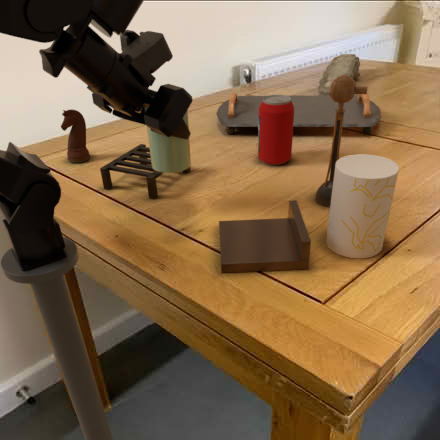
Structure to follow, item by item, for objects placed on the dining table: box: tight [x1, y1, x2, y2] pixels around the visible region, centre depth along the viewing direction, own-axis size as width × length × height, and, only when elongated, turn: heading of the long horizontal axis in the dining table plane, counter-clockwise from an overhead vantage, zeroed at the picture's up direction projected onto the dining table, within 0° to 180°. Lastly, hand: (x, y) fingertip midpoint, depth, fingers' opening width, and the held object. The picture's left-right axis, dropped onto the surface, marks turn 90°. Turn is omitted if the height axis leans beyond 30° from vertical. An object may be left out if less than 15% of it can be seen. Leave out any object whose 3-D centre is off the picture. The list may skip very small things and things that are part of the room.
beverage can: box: [257, 94, 294, 166], centre depth 91 cm, size 7×7×12 cm
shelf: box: [218, 199, 312, 274], centre depth 68 cm, size 12×12×4 cm
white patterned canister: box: [325, 153, 400, 259], centre depth 66 cm, size 8×8×12 cm
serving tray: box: [216, 92, 382, 136], centre depth 112 cm, size 39×23×6 cm, turn 84°
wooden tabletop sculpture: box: [314, 75, 368, 208], centre depth 74 cm, size 6×5×20 cm
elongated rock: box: [317, 53, 361, 95], centre depth 135 cm, size 35×5×10 cm
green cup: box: [144, 107, 192, 174], centre depth 72 cm, size 6×6×10 cm
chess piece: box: [60, 108, 91, 164], centre depth 96 cm, size 5×5×10 cm
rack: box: [99, 143, 191, 200], centre depth 88 cm, size 13×11×4 cm
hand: (175, 131), depth 73 cm, fingers closed on green cup, 6 cm apart
